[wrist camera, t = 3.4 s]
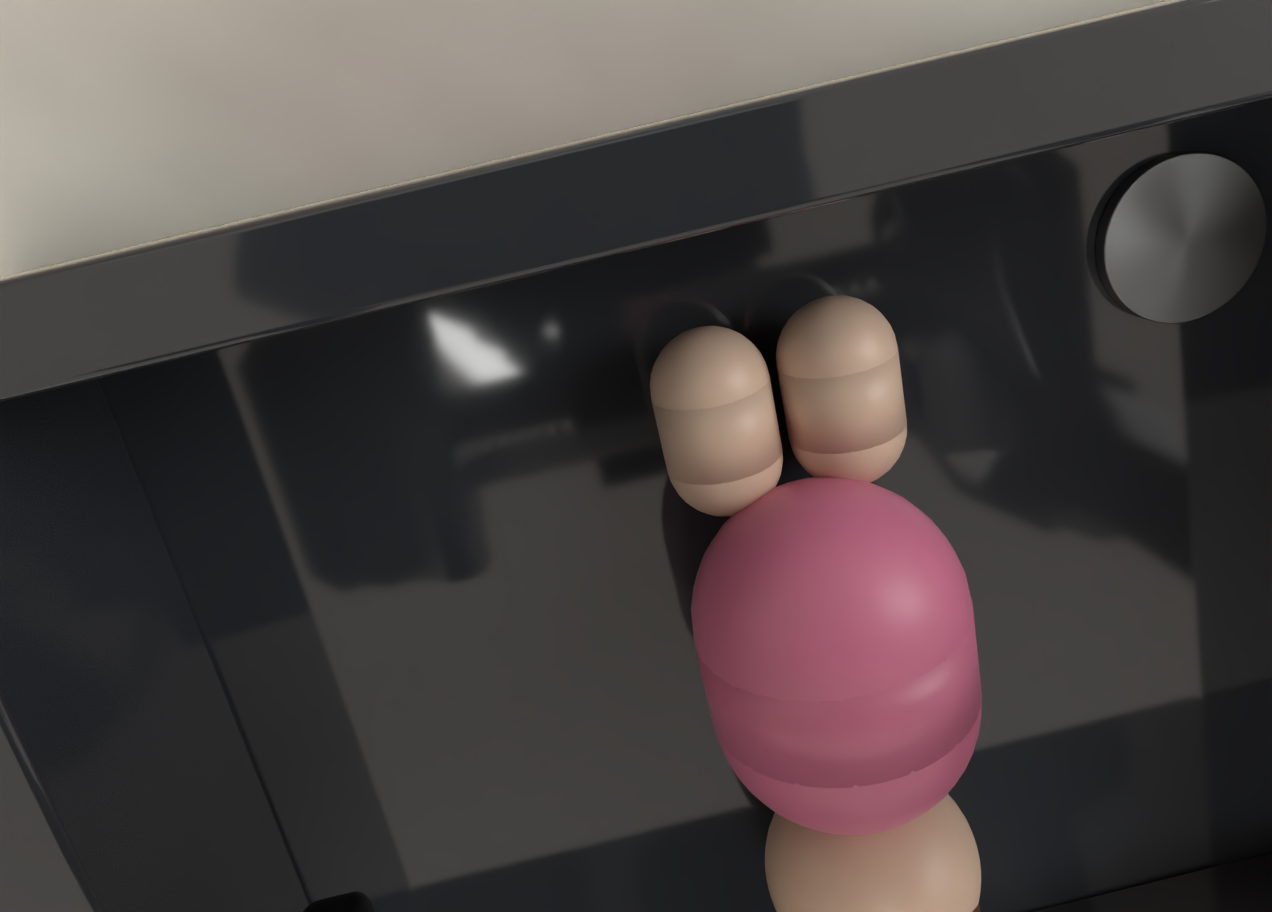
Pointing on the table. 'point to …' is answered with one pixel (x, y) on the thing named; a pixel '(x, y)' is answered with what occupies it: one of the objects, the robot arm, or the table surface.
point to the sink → (636, 505)
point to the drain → (1181, 236)
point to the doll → (827, 613)
